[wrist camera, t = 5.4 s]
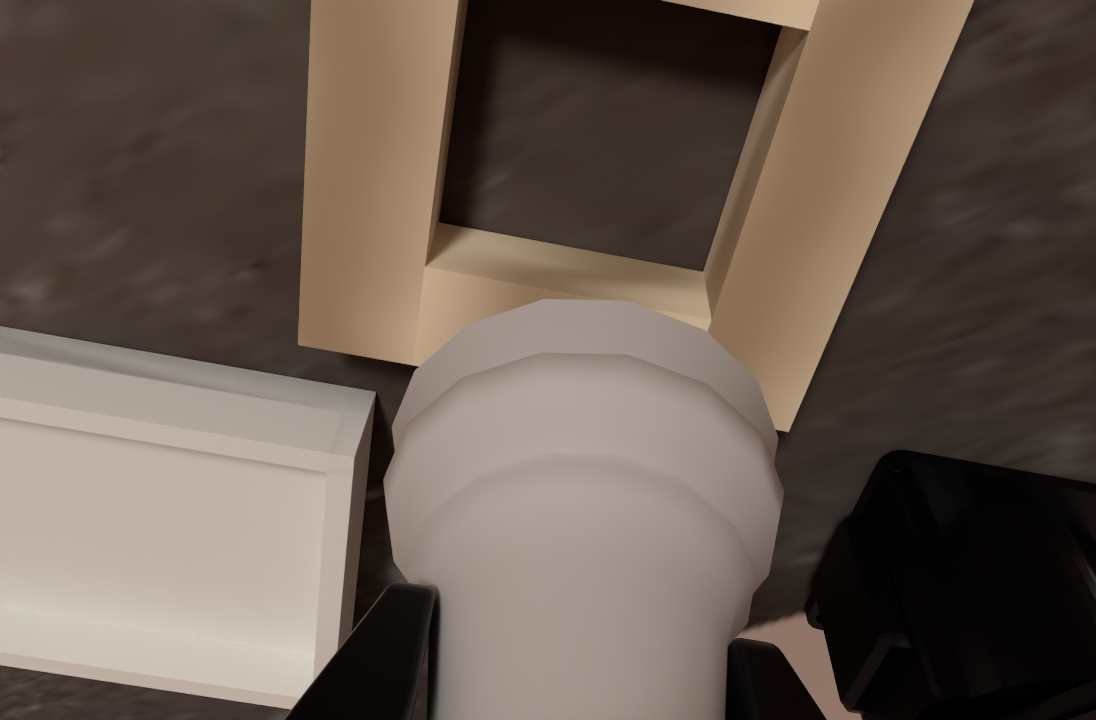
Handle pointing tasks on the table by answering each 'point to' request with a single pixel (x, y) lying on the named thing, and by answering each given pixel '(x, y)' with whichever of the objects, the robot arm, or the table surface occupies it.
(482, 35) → the table surface
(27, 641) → the tray
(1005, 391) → the table surface
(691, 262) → the table surface
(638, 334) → the rook chess piece
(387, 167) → the socket block
